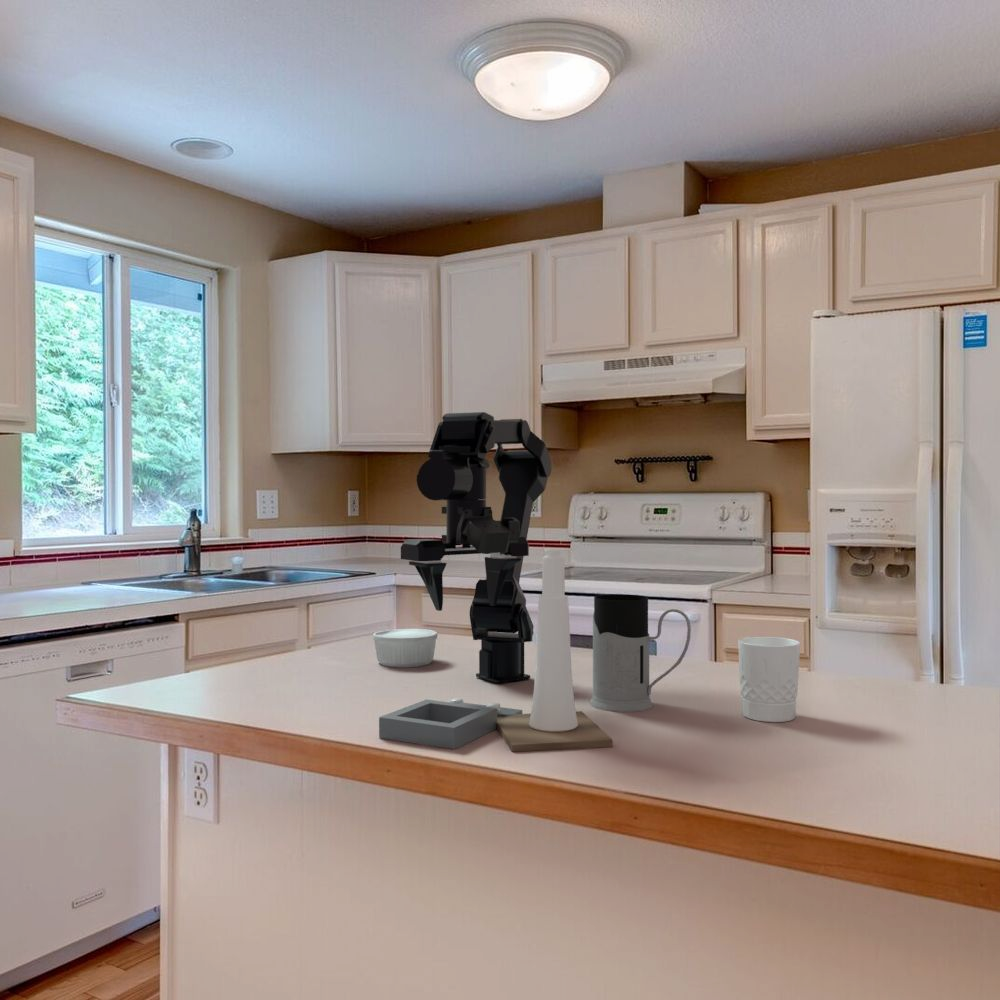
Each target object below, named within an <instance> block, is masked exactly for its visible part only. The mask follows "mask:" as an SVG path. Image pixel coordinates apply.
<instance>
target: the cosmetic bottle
mask: <svg viewBox="0 0 1000 1000" xmlns="http://www.w3.org/2000/svg"><path fill="white" fill-rule="evenodd" d="M543 552H544V553H545V554H544V556H542V558H541V559H542V560H541V563H542V565H541V568H542V570H541V574H542V575H541V576H542V578H541V581H542V582H541V588H542V589H541V591H542V592H541V595H539V596H538V605H537V608H538V609H537V624H536V646H535V647H536V649H535V652H536V653H535V669H534V670H535V671H534V683H533V696H532V703H531V704H532V705H531V711H530V713H531V716H530V721H529V725H530V727H531V728H533V729H536V730H540V731H547V732H563V731H569V730H573V729H575V728H576V727H577V726H578V722H577V716H576V705H575V703H576V702H575V697H574V696H575V695H574V686H573V685H574V684H573V671H572V652H571V651H572V650H571V631H570V629H571V627H570V625H571V624H570V609H569V608H570V606H569V596H567V595H565V590H566V589H565V587H566V586H565V584H566V583H565V580H566V578H565V577H566V575H565V569H566V568H565V565H566V564H565V562H566V560H565V557H564V556H563V555H562V553H563V548H559V547H554V548H553V547H549V548H548V547H547V548H544V551H543Z"/></svg>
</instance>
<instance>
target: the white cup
mask: <svg viewBox="0 0 1000 1000" xmlns="http://www.w3.org/2000/svg"><path fill="white" fill-rule="evenodd" d="M737 645H738V646H737V647H738V648H737V649H738V666H739V667H738V668H739V669H738V671H739V686H740V696H741V703H742V704H741V705H742V706H741V708H742V712H741V713H742V715H743V717H745V718H747V719H750V720H753V721H758V722H764V723H765V722H767V723H784V722H791V721H793V720H794V719H795V718H796V714H797V712H796V711H797V697H798V690H799V688H798V686H799V676H800V675H799V673H800V656H801V655H800V653H801V652H800V651H801V642H800V641H799V640H796V639H792V638H787V637H779V636H778V637H776V636H763V635H762V636H747V637H741V638H739V639H738V640H737Z"/></svg>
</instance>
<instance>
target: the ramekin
mask: <svg viewBox="0 0 1000 1000" xmlns="http://www.w3.org/2000/svg"><path fill="white" fill-rule="evenodd" d="M372 638H373V639H372V640H373V641H374V646H375V647H374V648H375V653H376V654H375V655H376V658H377V662H378V663H379V664H380V665H382V666H384V667H391V668H414V667H423V666H426V665H429V664H431V662H432V661H433V660H434V658H435V657H434V656H435V650H436V642H437V640H438V632H437V631H435V630H432V629H425V628H398V629H395V628H394V629H387V630H380V631H376V632H374V633H373V635H372Z"/></svg>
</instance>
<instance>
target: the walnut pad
mask: <svg viewBox="0 0 1000 1000" xmlns="http://www.w3.org/2000/svg"><path fill="white" fill-rule="evenodd" d="M508 715H510V714H508ZM508 715H497V721H498V722H497V732H499V734H500V736H501V737H502V739H503V741H504V742H505V744H506V745H507V747H508V748H509V750H510V751H511V752H512V753H514V752H531V751H532V752H534V751H535V752H537V751H553V750H554V751H556V750H572V749H573V750H574V749H592V748H593V749H594V748H609V747H614V746H613V745H614V744H613V743H614V741H613V739H612V738H611V736H609V735H608V734H607V733H606V732H605V731H604V730H603V729H601V727H600V726H599V725H597V724H596V723H595V722H594V721H593V720H592V719H591V718H590V717H589V716H588V715H586V714H585V713H584V712H583V711H582V710H581V711H579V710H577V711H576V716H577V722H578V726H577V727H576V728H575V729H573V730H569V731H563V732H547V731H540V730H536V729H533V728H531V727H530V725H529V721H530V716H531V712H530V713H522V714H512V715H510V716H509V717H508ZM499 716H500V720H499ZM503 716H504V717H505V718H504V719H503ZM506 717H507V718H506Z"/></svg>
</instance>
